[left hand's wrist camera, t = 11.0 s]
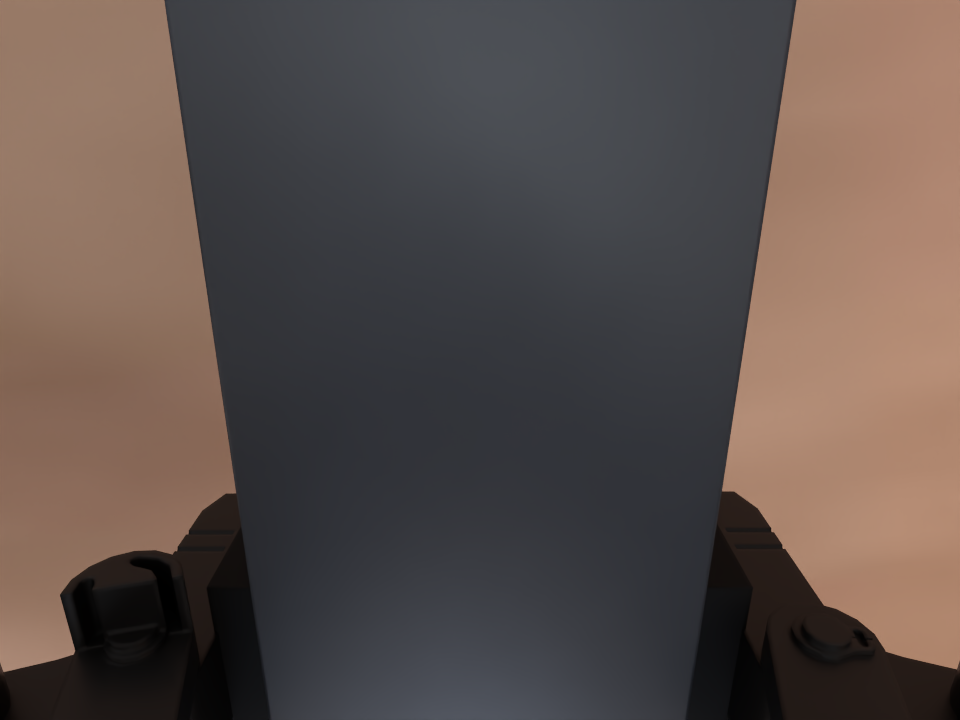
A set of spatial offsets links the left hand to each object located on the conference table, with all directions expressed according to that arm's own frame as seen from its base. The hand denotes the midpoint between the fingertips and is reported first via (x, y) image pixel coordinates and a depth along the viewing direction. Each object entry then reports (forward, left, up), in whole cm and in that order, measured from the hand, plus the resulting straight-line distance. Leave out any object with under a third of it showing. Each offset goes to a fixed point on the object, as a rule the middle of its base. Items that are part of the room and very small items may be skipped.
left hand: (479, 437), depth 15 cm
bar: (-22, +5, -1) cm, 22 cm away
